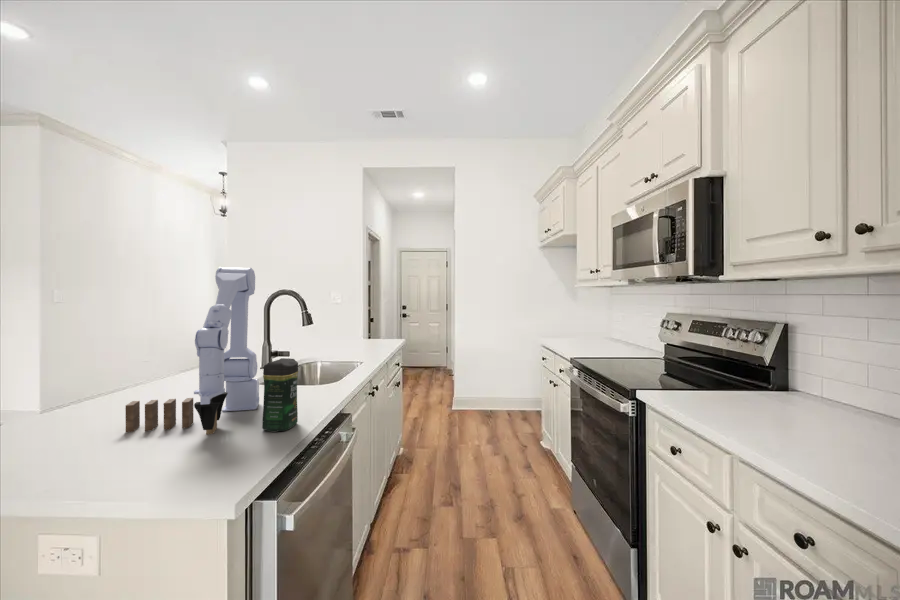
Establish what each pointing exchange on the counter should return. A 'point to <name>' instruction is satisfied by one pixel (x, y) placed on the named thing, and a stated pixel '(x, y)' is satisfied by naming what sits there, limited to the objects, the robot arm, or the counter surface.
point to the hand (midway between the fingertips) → (211, 424)
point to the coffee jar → (280, 395)
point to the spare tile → (213, 427)
